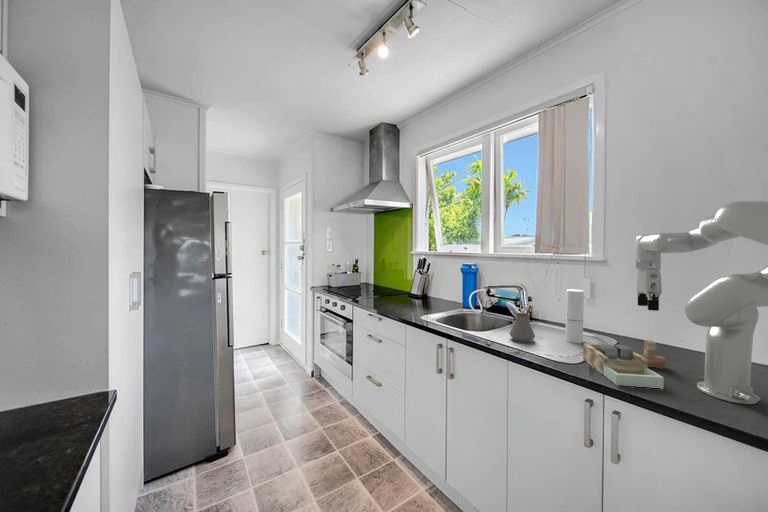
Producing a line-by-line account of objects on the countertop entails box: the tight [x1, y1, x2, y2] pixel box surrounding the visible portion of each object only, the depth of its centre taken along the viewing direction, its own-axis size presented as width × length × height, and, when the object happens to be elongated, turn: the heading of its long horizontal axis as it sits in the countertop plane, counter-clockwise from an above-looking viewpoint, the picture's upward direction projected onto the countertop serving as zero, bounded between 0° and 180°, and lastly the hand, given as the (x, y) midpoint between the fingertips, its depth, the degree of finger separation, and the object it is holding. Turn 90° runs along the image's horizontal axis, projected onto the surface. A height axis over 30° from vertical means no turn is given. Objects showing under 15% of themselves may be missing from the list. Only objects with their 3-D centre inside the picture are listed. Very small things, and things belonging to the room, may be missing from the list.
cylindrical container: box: [565, 288, 585, 344], centre depth 145 cm, size 7×7×25 cm
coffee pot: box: [509, 305, 536, 343], centre depth 151 cm, size 21×12×15 cm, turn 139°
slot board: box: [582, 342, 648, 375], centre depth 113 cm, size 15×14×7 cm
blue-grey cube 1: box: [613, 344, 634, 360], centre depth 111 cm, size 4×4×4 cm
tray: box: [603, 366, 665, 390], centre depth 102 cm, size 8×14×4 cm, turn 80°
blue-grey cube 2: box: [600, 344, 618, 359], centre depth 112 cm, size 4×4×4 cm
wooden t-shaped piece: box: [640, 339, 666, 369], centre depth 115 cm, size 2×9×10 cm, turn 80°
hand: (647, 307), depth 119 cm, fingers open, 9 cm apart
